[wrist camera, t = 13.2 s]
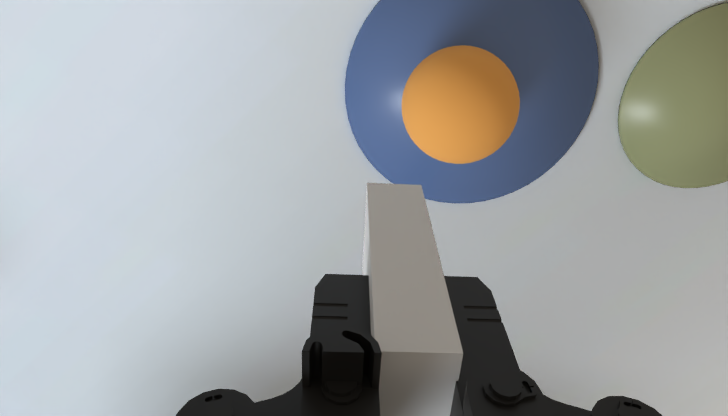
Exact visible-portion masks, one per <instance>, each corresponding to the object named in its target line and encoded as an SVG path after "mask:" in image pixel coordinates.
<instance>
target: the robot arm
mask: <svg viewBox="0 0 728 416" xmlns="http://www.w3.org/2000/svg"><path fill="white" fill-rule="evenodd" d="M362 273H363V275H340V274H325V276H324V277H323V278H322V279H321V281H320V282H319V283H318V284H317V286H316V287H315V295H314V306H313V314H312V324H311V333H310V338H309V339H307V340H306V342H305V345H304V347H303V350H302V379H301V381H300V382H299V383H298V384H297V385H296V386H295V387H294V388H293V389H292V390H290V391H288V392H286V393H285V394H283V395H280V396H278V397H275V398H272V399H268V400H264V401H260V402H256V403H254V402H253V401H252V400H251V399H250V398H249V397H248V396H247V395H246V394H243V393H241V392H238V391H236V390H230V389H216V390H212V391H208V392H204V393H202V394H200V395H198V396H196V397H194V398H193V399H191V400H189V401H188V402H187V403H186V404H185V405H184V406H183V407H182V409H181V410H180V411H179V412H178V413H177V415H176V416H662V415H661V414H660V413H659V412H657V411H656V410H655V409H654V408H652V407H650V406H648V405H646V404H644V403H643V402H641V401H639V400H635V399H631V398H628V397H624V396H608V397H606V398H603V399H601V400H599V401H597V403H596V404H595V406H594V407H593V409H592V411H589V410H585V409H581V408H578V407H574V406H571V405H567V404H564V403H561V402H558V401H555V400H552V399H550V398H548V397H546V396H545V395H543V394H542V392H541V390H540V389H539V387H538V386H537V384H536V382H535V381H534V380H533V379H531V378H530V377H529V376H528V375H526V374H525V373H524V372H522V371H520V369H519V366H518V364H517V361H516V358H515V355H514V353H513V350H512V347H511V344H510V342H509V339H508V336H507V333H506V331H505V328H504V325H503V323H501V317H500V314H499V311H498V310H497V306H496V303H495V300H494V298H493V295H492V292H491V290H490V289H489V288H488V287H487V286H486V285H485V284H484V283H483V282H482V281H481V280H480V279H479V278H478V277H454V276H444V274H443V270H442V266H441V262H440V258H439V254H438V250H437V246H436V242H435V238H434V234H433V230H432V226H431V222H430V218H429V214H428V210H427V206H426V202H425V198H424V194H423V190H422V186H421V185H410V184H383V183H367V192H366V209H365V227H364V245H363V263H362Z"/></svg>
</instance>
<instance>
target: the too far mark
mask: <svg viewBox="0 0 728 416" xmlns="http://www.w3.org/2000/svg"><path fill="white" fill-rule="evenodd" d="M618 129H619V136H620V140H621V144H622V146H623V149H624V151H625V153H626V155H627V156H628V158H629V160H630V161H631V162H632V163H633V165H634V166H635V167H636V168H637V169H638V170H639V171H641V172H642V173H643V174H644V175H646V176H647V177H649V178H651V179H652V180H654V181H656V182H659V183H662V184H664V185H668V186H673V187H680V188H699V187H706V186H711V185H715V184H720V183H723V182H726V181H728V3H723V4H720V5H716V6H713V7H709V8H707V9H704V10H702V11H699V12H697V13H695V14H693V15H691V16H689V17H687V18H686V19H684V20H682V21H680V22H679V23H678V24H676V25H675V26H673V27H672V28H670V29H669V30H668V31H667V32H665V33H664V34H663V35H662V36H661V37H660V38H658V39H657V40H656V41H655V43H654V44H653V45H652V46H651V47H650V48H649V49H648V50H647V51H646V52H645V54H644V55H643V56H642V58H641V59H640V60H639V62H638V63H637V65H636V66H635V68H634V70H633V71H632V73H631V75H630V77H629V79H628V81H627V83H626V85H625V88H624V91H623V94H622V97H621V101H620V106H619V114H618Z"/></svg>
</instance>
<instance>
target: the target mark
mask: <svg viewBox="0 0 728 416" xmlns="http://www.w3.org/2000/svg"><path fill="white" fill-rule="evenodd" d="M459 45H466V46H474V47H479V48H481V49H484V50H486V51H488V52H490V53H492V54H494V55H495V56H497V57H498V58H499V59H500V60H501V61H503V62H504V63H505V64H506V66H507V67H508V68H509V69H510V71H511V73H512V74H513V76H514V78H515V81H516V83H517V86H518V90H519V97H520V109H519V115H518V119H517V122H516V125H515V127H514V130H513V131H512V133H511V135H510V137H509V138H508V139H507V140H506V142H505V143H504V144H503V145H502V146H501V147H500V148H499V149H498V150H496V151H495V152H494V153H493V154H491V155H489V156H487V157H486V158H483V159H481V160H479V161H475V162H471V163H465V164H453V163H447V162H443V161H439V160H437V159H434V158H432V157H431V156H429V155H427V154H426V153H424V152H423V151H422V150H421V149H420V148H419V147H418V146H417V145H416V144H415V143H414V142H413V140H412V139H411V138H410V136H409V134H408V132H407V130H406V128H405V125H404V122H403V117H402V95H403V91H404V88H405V85H406V82H407V80H408V78H409V77H410V75H411V73H412V72H413V70H414V69H415V68H416V67H417V65H418V64H419V63H420V62H422V61H423V60H424V59H425V58H426V57H428V56H429V55H431V54H432V53H434V52H436V51H438V50H441V49H443V48H447V47H451V46H459ZM598 68H599V62H598V50H597V44H596V40H595V36H594V31H593V29H592V26H591V24H590V21H589V18H588V16H587V14H586V13H585V11H584V9H583V7H582V6H581V4H580V2H579V1H578V0H380V1H379V2H378V3H377V5H376V6H375V7H374V8H373V10H372V11H371V13H370V14H369V16H368V17H367V18H366V20H365V21H364V23H363V25H362V27H361V29H360V31H359V33H358V35H357V37H356V39H355V42H354V45H353V47H352V50H351V53H350V57H349V61H348V66H347V71H346V81H345V101H346V108H347V114H348V119H349V122H350V125H351V129H352V132H353V134H354V136H355V139H356V141H357V143H358V145H359V147H360V148H361V150H362V151H363V153H364V155H365V156H366V158H367V159H368V160H369V161H370V163H371V164H372V165H373V166H374V167H375V168H376V170H378V171H379V172H380V173H381V174H382V175H383V176H384V177H385V178H387V179H388V180H389V181H391V182H392V183H394V184H410V185H421V186H422V190H423V194H424V198H425V199H429V200H434V201H438V202H447V203H473V202H480V201H486V200H490V199H494V198H498V197H501V196H504V195H506V194H509V193H512V192H514V191H516V190H518V189H520V188H522V187H524V186H526V185H528V184H530V183H531V182H533V181H534V180H536V179H537V178H539V177H540V176H542V175H543V174H544V173H545V172H546V171H548V170H549V169H550V168H551V167H553V166H554V165H555V164H556V163H557V162H558V161H559V160H560V159H561V157H562V156H563V155H564V154H565V153H566V152H567V151H568V149H569V148H570V147H571V145H572V144H573V143H574V142H575V140H576V138H577V137H578V135H579V133H580V132H581V130H582V128H583V126H584V124H585V122H586V120H587V118H588V116H589V113H590V110H591V107H592V104H593V101H594V98H595V93H596V88H597V83H598Z"/></svg>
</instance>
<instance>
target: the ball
mask: <svg viewBox="0 0 728 416" xmlns="http://www.w3.org/2000/svg"><path fill="white" fill-rule="evenodd" d="M519 109H520V97H519V90H518V86H517V83H516V81H515V78H514V76H513V74H512V73H511V71H510V69H509V68H508V67H507V66H506V64H505V63H504V62H503V61H501V60H500V59H499V58H498V57H497V56H495V55H494V54H492V53H490V52H488V51H486V50H484V49H481V48H479V47H474V46H466V45H459V46H451V47H447V48H443V49H441V50H438V51H436V52H434V53H432V54H431V55H429V56H428V57H426V58H425V59H424V60H423V61H422V62H420V63H419V64H418V65H417V67H416V68H415V69H414V70H413V72H412V73H411V75H410V77H409V78H408V80H407V82H406V85H405V88H404V91H403V95H402V117H403V122H404V125H405V128H406V130H407V132H408V134H409V136H410V138H411V139H412V140H413V142H414V143H415V144H416V145H417V146H418V147H419V148H420V149H421V150H422V151H423V152H424V153H426V154H427V155H429V156H431V157H432V158H434V159H437V160H439V161H443V162H447V163H453V164H465V163H471V162H475V161H479V160H481V159H483V158H486V157H487V156H489V155H491V154H493V153H494V152H495V151H496V150H498V149H499V148H500V147H501V146H502V145H503V144H504V143H505V142H506V140H507V139H508V138H509V137H510V135H511V133H512V131H513V130H514V127H515V125H516V122H517V119H518V115H519Z"/></svg>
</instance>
